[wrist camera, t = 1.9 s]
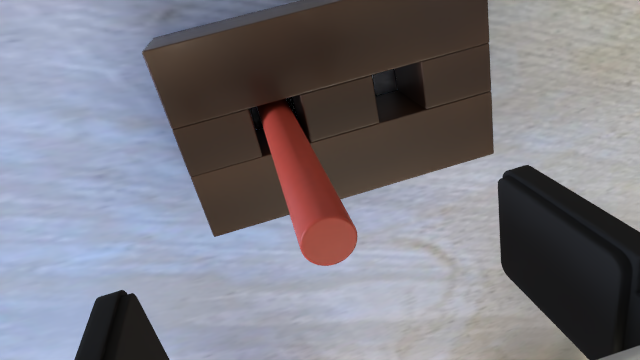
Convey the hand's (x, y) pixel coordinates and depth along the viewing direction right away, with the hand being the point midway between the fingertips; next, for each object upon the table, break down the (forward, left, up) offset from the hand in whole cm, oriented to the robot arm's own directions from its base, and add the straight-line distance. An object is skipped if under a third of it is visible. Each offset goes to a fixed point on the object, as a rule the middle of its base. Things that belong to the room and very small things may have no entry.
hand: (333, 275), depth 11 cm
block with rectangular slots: (0, +3, -15) cm, 15 cm away
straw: (0, 0, -15) cm, 15 cm away
